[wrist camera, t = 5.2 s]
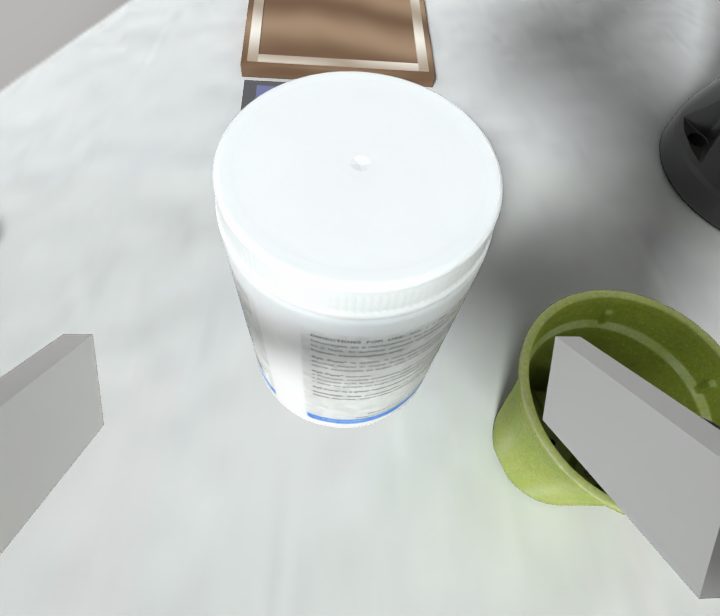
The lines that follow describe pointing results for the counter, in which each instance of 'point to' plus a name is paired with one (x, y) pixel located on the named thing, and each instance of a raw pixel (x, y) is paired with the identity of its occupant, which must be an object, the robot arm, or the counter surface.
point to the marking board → (337, 39)
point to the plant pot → (625, 345)
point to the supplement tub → (353, 235)
